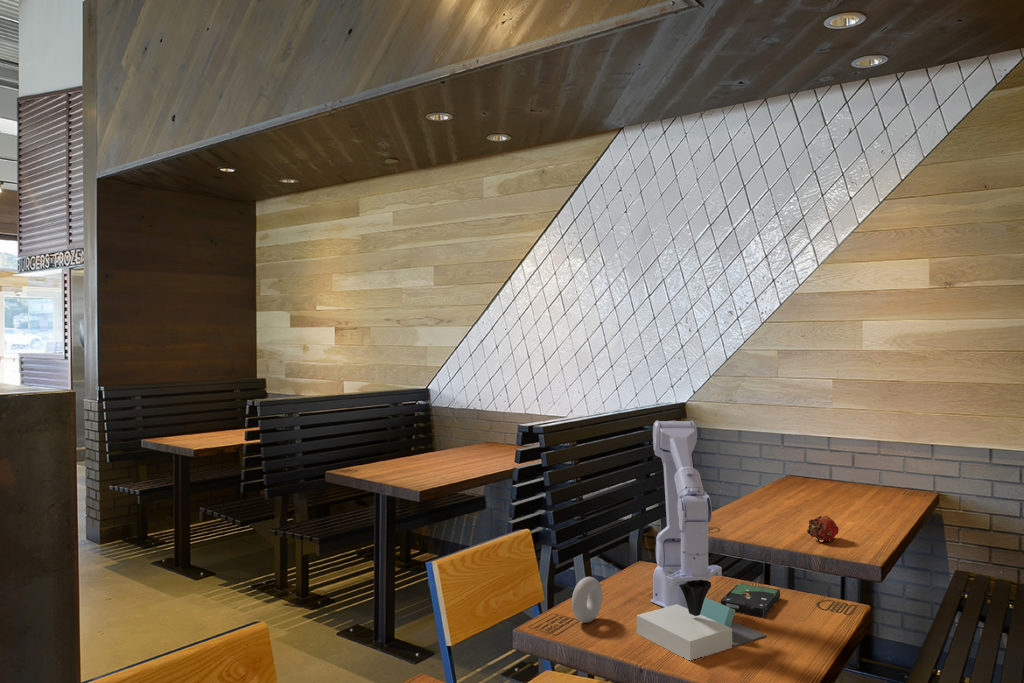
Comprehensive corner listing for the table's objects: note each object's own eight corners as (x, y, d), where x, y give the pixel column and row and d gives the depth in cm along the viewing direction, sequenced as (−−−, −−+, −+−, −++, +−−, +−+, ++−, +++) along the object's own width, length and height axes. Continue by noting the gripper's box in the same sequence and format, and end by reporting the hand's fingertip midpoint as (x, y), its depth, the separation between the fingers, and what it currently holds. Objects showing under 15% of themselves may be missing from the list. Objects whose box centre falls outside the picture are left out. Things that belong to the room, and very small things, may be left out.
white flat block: (636, 633, 160) (636, 615, 160) (677, 621, 166) (677, 604, 166) (690, 661, 147) (689, 641, 146) (732, 647, 153) (732, 628, 153)
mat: (678, 621, 167) (678, 620, 167) (710, 612, 172) (710, 611, 172) (733, 647, 153) (733, 645, 153) (766, 636, 158) (766, 635, 158)
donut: (593, 613, 172) (593, 570, 172) (605, 616, 170) (605, 573, 170) (568, 626, 164) (568, 581, 164) (581, 630, 162) (581, 585, 162)
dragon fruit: (814, 550, 225) (825, 547, 234) (838, 537, 221) (849, 534, 230) (798, 524, 229) (810, 522, 238) (822, 511, 225) (833, 510, 234)
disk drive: (765, 621, 168) (780, 600, 181) (765, 608, 168) (780, 588, 181) (720, 611, 174) (738, 592, 186) (720, 599, 174) (738, 581, 186)
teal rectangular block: (698, 594, 165) (704, 597, 166) (690, 621, 164) (696, 623, 165) (729, 607, 157) (735, 609, 158) (721, 635, 156) (727, 637, 157)
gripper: (682, 561, 151) (683, 627, 151) (732, 550, 158) (732, 613, 159) (659, 553, 157) (659, 616, 157) (708, 542, 164) (708, 603, 165)
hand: (694, 614), depth 158 cm, fingers closed
